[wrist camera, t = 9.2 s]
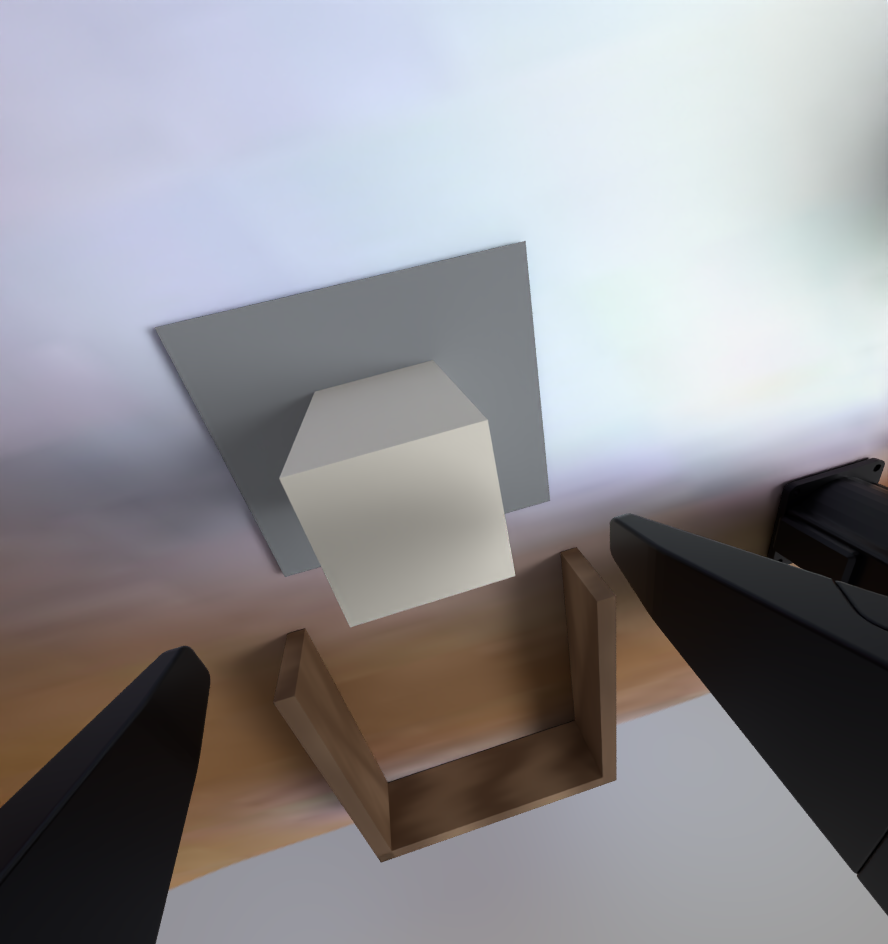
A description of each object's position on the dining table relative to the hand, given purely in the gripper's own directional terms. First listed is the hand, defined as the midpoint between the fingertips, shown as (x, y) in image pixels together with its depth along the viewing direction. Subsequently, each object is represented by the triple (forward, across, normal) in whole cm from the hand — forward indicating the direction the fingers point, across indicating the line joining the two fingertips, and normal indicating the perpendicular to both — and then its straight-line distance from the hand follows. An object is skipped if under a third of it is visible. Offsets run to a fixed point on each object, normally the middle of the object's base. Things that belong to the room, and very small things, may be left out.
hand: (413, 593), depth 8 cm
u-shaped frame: (+11, 0, +18) cm, 21 cm away
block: (+10, 0, 0) cm, 10 cm away
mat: (+11, 0, 0) cm, 11 cm away
